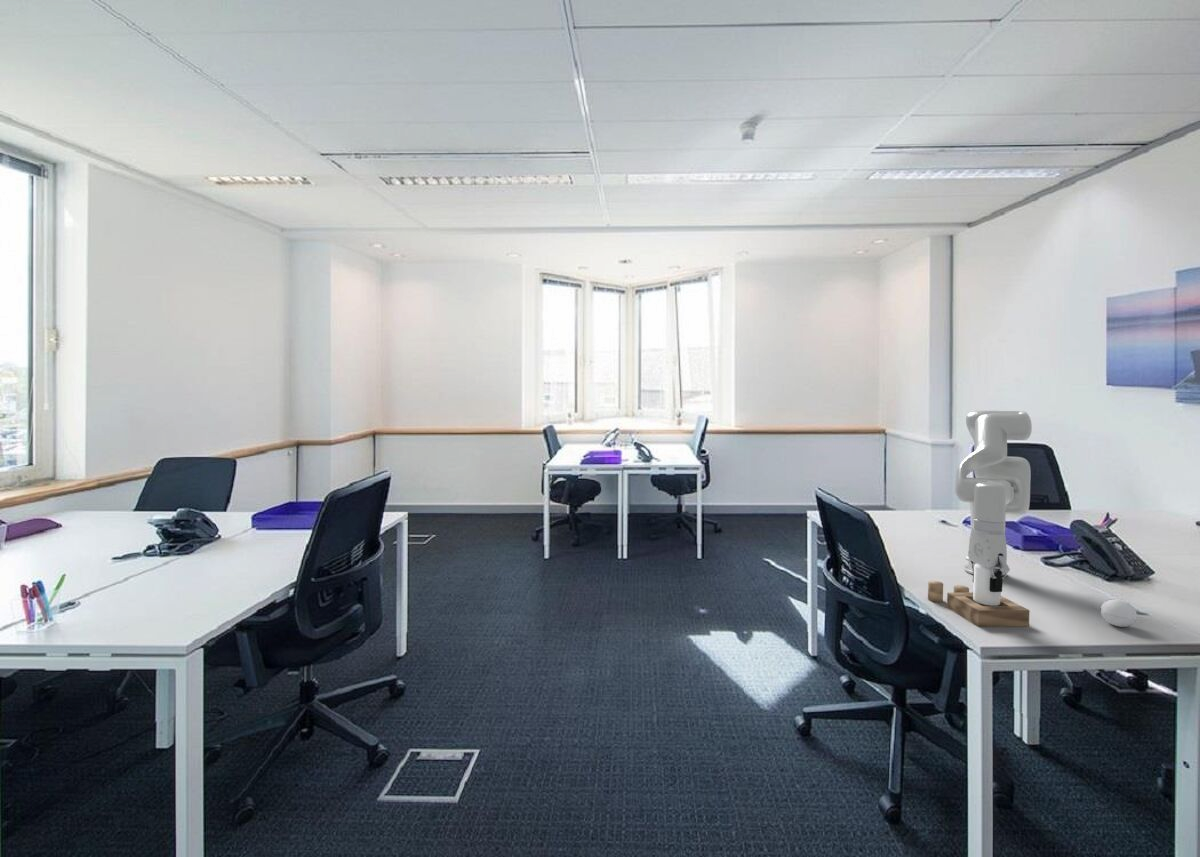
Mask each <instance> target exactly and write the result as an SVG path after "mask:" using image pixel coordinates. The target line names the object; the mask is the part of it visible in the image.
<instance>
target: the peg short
mask: <svg viewBox="0 0 1200 857" xmlns="http://www.w3.org/2000/svg"><path fill="white" fill-rule="evenodd" d="M953 593H970V587H968V586H965V585H959V584H958V585H953Z"/></svg>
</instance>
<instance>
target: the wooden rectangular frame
mask: <svg viewBox="0 0 1200 857" xmlns="http://www.w3.org/2000/svg"><path fill="white" fill-rule="evenodd" d="M946 600H947V601H946V608H948V609H949V610H951V611H952V612H954V613H956V614H958V616H961V617H962V618H964V619H965V620H967V621H969V622H970V623H972V624H973V625H975V626H977V627H1029V626H1030V612H1031V611H1030V610H1029V609H1028V608H1026V607H1024V606H1022V605H1020V604H1018V603H1016V602H1014V601H1012V600H1010V599H1008V598H1007V597H1004V596H1002V595H1001V599H1000V605H998V606H985V605H981V604H978V603H976V602H975V601H974V600H973V591H972V592H969V593H954V592H947V598H946Z"/></svg>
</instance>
